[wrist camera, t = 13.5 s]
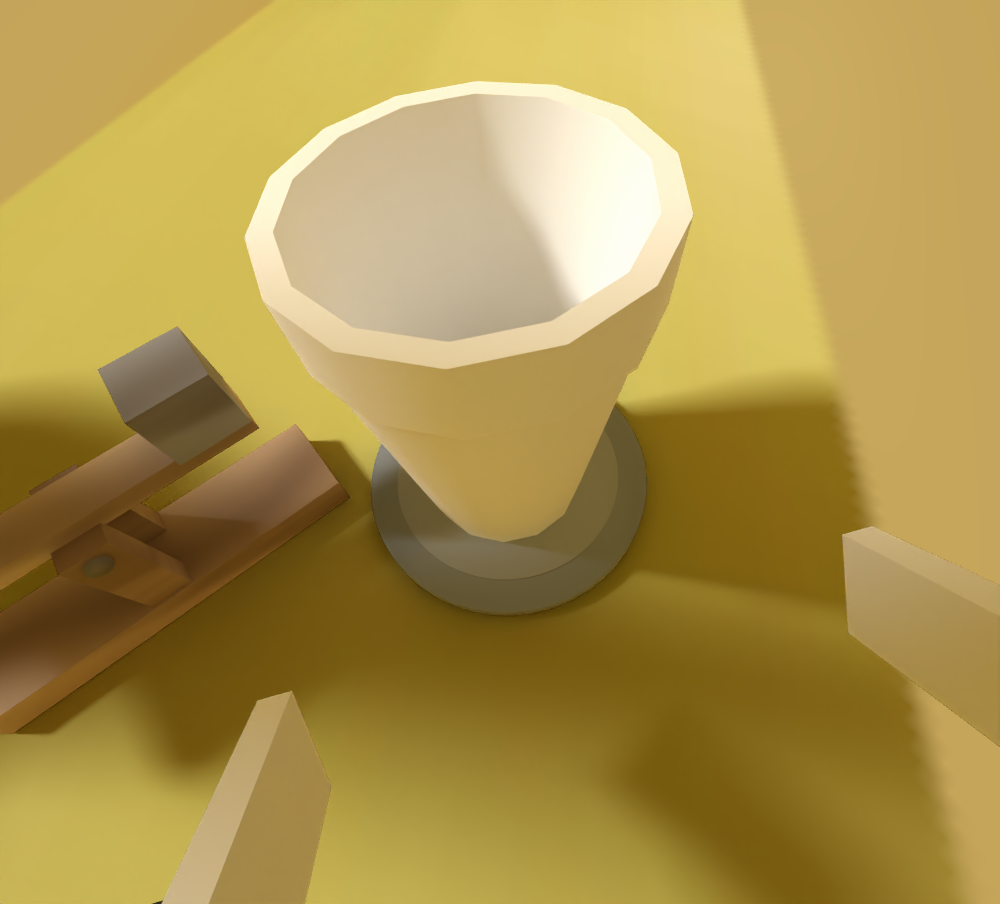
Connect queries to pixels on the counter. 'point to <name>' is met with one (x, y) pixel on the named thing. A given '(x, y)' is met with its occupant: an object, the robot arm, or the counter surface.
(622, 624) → the counter surface
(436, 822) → the counter surface
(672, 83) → the counter surface
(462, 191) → the foam cup
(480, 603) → the coaster
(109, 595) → the catapult
